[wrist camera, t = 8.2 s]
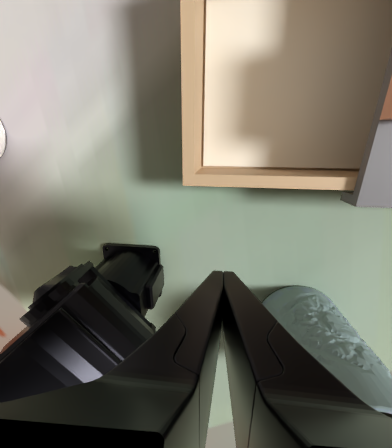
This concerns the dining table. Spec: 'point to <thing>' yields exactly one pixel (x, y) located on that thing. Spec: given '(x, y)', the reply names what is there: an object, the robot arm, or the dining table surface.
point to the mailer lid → (376, 154)
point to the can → (2, 138)
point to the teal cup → (333, 343)
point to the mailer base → (280, 90)
